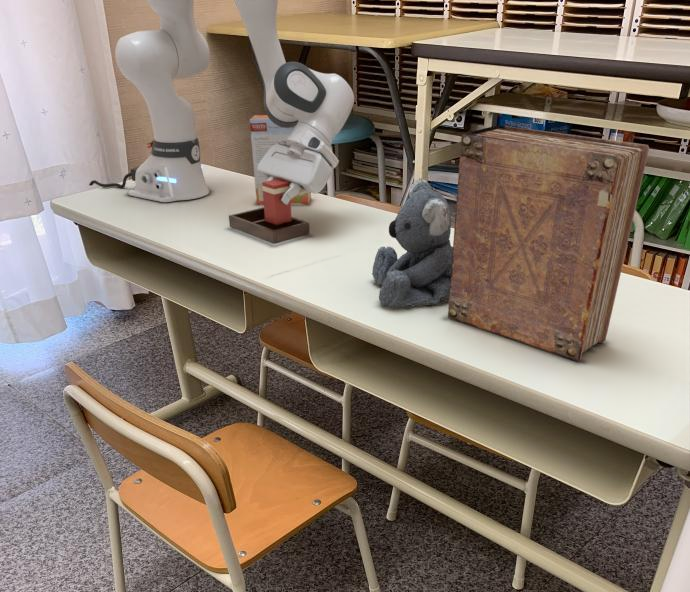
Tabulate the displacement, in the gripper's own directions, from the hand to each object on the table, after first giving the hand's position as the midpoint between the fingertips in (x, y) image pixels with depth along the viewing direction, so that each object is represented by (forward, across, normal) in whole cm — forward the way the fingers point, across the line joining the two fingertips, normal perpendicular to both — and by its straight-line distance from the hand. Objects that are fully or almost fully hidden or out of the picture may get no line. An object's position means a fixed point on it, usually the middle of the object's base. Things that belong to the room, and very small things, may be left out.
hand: (274, 200), depth 155 cm
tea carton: (+3, 0, +4) cm, 5 cm away
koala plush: (+6, +46, +6) cm, 47 cm away
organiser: (+5, -4, +6) cm, 9 cm away
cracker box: (-8, -23, +20) cm, 31 cm away
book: (+6, +70, +5) cm, 70 cm away
